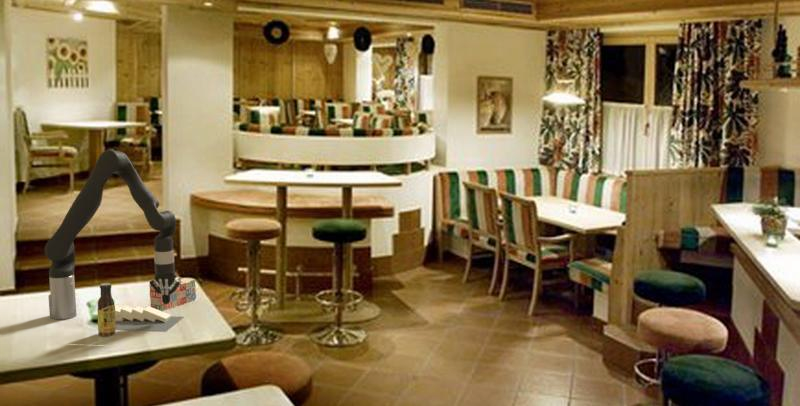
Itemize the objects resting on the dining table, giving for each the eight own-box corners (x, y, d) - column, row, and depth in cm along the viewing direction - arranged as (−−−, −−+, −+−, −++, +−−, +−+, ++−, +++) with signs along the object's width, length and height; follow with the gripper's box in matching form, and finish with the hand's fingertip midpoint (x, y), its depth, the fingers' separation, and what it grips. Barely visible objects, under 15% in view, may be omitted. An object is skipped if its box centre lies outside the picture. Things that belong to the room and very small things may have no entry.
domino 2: (132, 321, 304) (109, 311, 304) (137, 317, 309) (114, 308, 309) (133, 317, 304) (110, 308, 304) (138, 314, 309) (116, 304, 309)
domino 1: (122, 320, 304) (98, 320, 305) (127, 317, 309) (104, 316, 310) (122, 317, 304) (98, 316, 305) (127, 313, 309) (104, 312, 310)
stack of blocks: (185, 298, 339) (184, 271, 337) (196, 299, 336) (195, 272, 335) (150, 310, 320) (149, 282, 318) (161, 312, 317) (160, 284, 315)
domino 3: (142, 321, 304) (119, 312, 304) (148, 317, 309) (125, 308, 309) (144, 318, 303) (121, 308, 304) (149, 314, 308) (126, 305, 308)
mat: (103, 330, 294) (103, 329, 294) (125, 315, 313) (125, 314, 312) (165, 332, 292) (165, 331, 291) (184, 317, 310) (184, 316, 310)
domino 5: (165, 322, 303) (142, 313, 303) (170, 318, 308) (147, 309, 308) (166, 318, 302) (143, 309, 303) (171, 315, 307) (148, 306, 308)
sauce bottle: (105, 338, 284) (102, 287, 281) (94, 335, 288) (91, 285, 284) (120, 334, 290) (117, 283, 287) (109, 331, 293) (106, 281, 290)
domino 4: (154, 322, 303) (131, 312, 303) (159, 318, 308) (136, 309, 308) (155, 318, 303) (132, 309, 303) (160, 314, 308) (137, 305, 308)
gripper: (184, 259, 304) (185, 301, 307) (152, 258, 306) (154, 300, 308) (177, 264, 297) (178, 306, 300) (144, 263, 298) (146, 305, 301)
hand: (166, 303), depth 304 cm, fingers closed
